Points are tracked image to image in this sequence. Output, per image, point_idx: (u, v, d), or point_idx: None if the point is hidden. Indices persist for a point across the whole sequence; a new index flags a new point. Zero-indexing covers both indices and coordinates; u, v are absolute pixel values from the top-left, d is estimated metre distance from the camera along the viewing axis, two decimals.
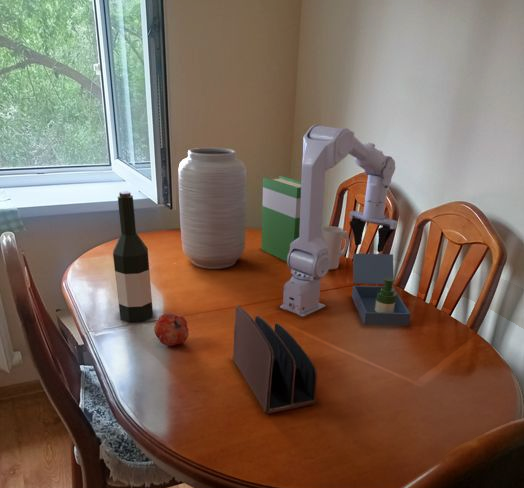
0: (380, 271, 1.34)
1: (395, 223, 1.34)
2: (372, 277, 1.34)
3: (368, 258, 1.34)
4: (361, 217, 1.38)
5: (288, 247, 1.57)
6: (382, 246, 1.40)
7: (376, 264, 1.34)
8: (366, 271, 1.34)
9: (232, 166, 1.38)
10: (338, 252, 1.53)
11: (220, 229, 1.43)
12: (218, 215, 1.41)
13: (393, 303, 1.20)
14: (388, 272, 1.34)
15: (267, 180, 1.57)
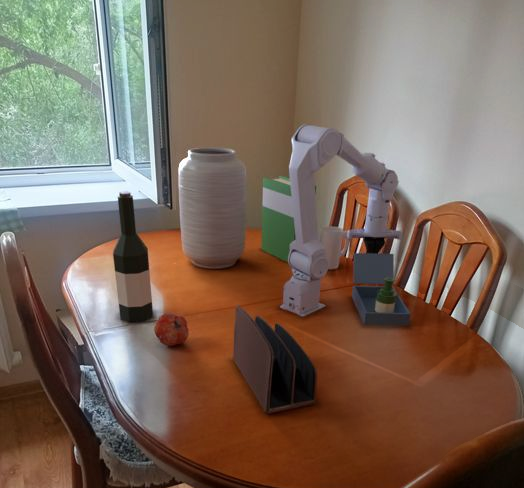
0: (380, 271, 1.34)
1: None
2: (372, 277, 1.34)
3: (368, 258, 1.34)
4: (368, 235, 1.31)
5: (288, 247, 1.57)
6: None
7: (376, 264, 1.34)
8: (366, 271, 1.34)
9: (232, 166, 1.38)
10: (338, 252, 1.53)
11: (220, 229, 1.43)
12: (218, 215, 1.41)
13: (393, 303, 1.20)
14: (388, 272, 1.34)
15: (267, 180, 1.57)
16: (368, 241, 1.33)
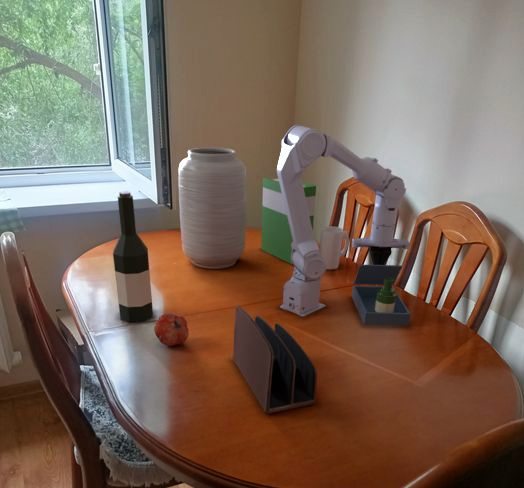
0: (383, 277, 1.31)
1: None
2: (373, 280, 1.32)
3: (374, 269, 1.27)
4: (374, 244, 1.25)
5: (288, 247, 1.57)
6: None
7: (381, 272, 1.29)
8: (369, 277, 1.31)
9: (232, 166, 1.38)
10: (338, 252, 1.53)
11: (220, 229, 1.43)
12: (218, 215, 1.41)
13: (393, 303, 1.20)
14: (391, 277, 1.31)
15: (267, 180, 1.57)
16: (374, 251, 1.26)
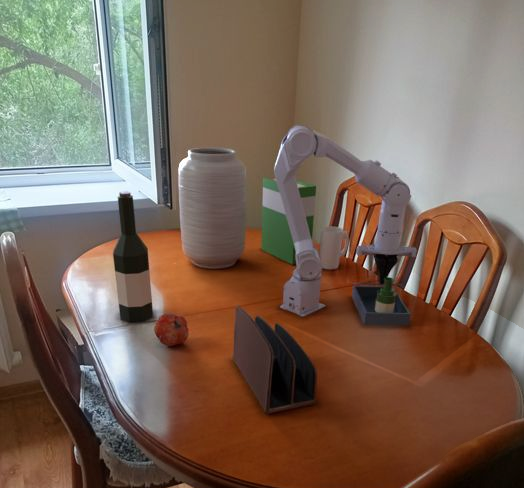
0: None
1: None
2: None
3: None
4: (379, 252, 1.20)
5: (288, 247, 1.57)
6: None
7: None
8: None
9: (232, 166, 1.38)
10: (338, 252, 1.53)
11: (220, 229, 1.43)
12: (218, 215, 1.41)
13: (393, 303, 1.20)
14: None
15: (267, 180, 1.57)
16: (379, 259, 1.21)
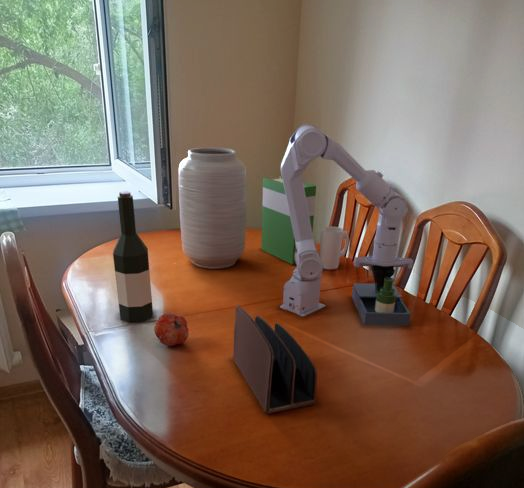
0: None
1: None
2: None
3: None
4: (376, 263, 1.22)
5: (288, 247, 1.57)
6: None
7: None
8: None
9: (232, 166, 1.38)
10: (338, 252, 1.53)
11: (220, 229, 1.43)
12: (218, 215, 1.41)
13: (393, 303, 1.20)
14: None
15: (267, 180, 1.57)
16: (376, 270, 1.24)
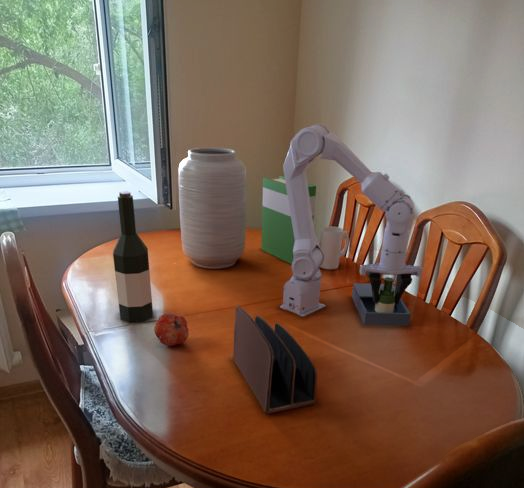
0: None
1: None
2: None
3: None
4: (384, 271, 1.15)
5: (288, 247, 1.57)
6: None
7: None
8: None
9: (232, 166, 1.38)
10: (338, 252, 1.53)
11: (220, 229, 1.43)
12: (218, 215, 1.41)
13: (393, 303, 1.20)
14: None
15: (267, 180, 1.57)
16: (374, 278, 1.17)
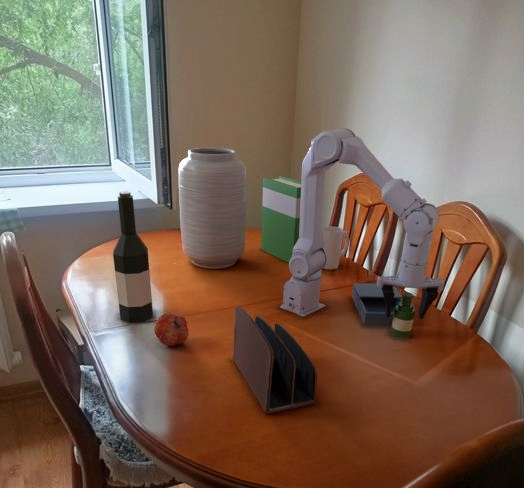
0: None
1: None
2: None
3: None
4: (402, 284, 1.09)
5: (288, 247, 1.57)
6: None
7: None
8: None
9: (232, 166, 1.38)
10: (338, 252, 1.53)
11: (220, 229, 1.43)
12: (218, 215, 1.41)
13: (411, 320, 1.13)
14: None
15: (267, 180, 1.57)
16: (386, 291, 1.10)
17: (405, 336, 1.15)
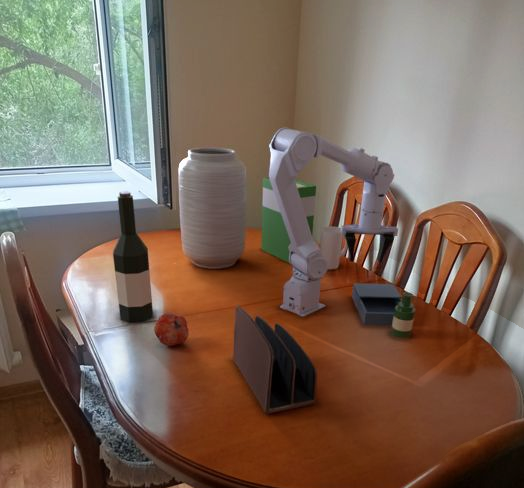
0: None
1: None
2: None
3: None
4: (362, 230, 1.26)
5: None
6: None
7: None
8: None
9: (232, 166, 1.38)
10: (338, 252, 1.53)
11: (220, 229, 1.43)
12: (218, 215, 1.41)
13: (411, 320, 1.13)
14: None
15: (267, 180, 1.57)
16: (349, 237, 1.27)
17: (405, 336, 1.15)
